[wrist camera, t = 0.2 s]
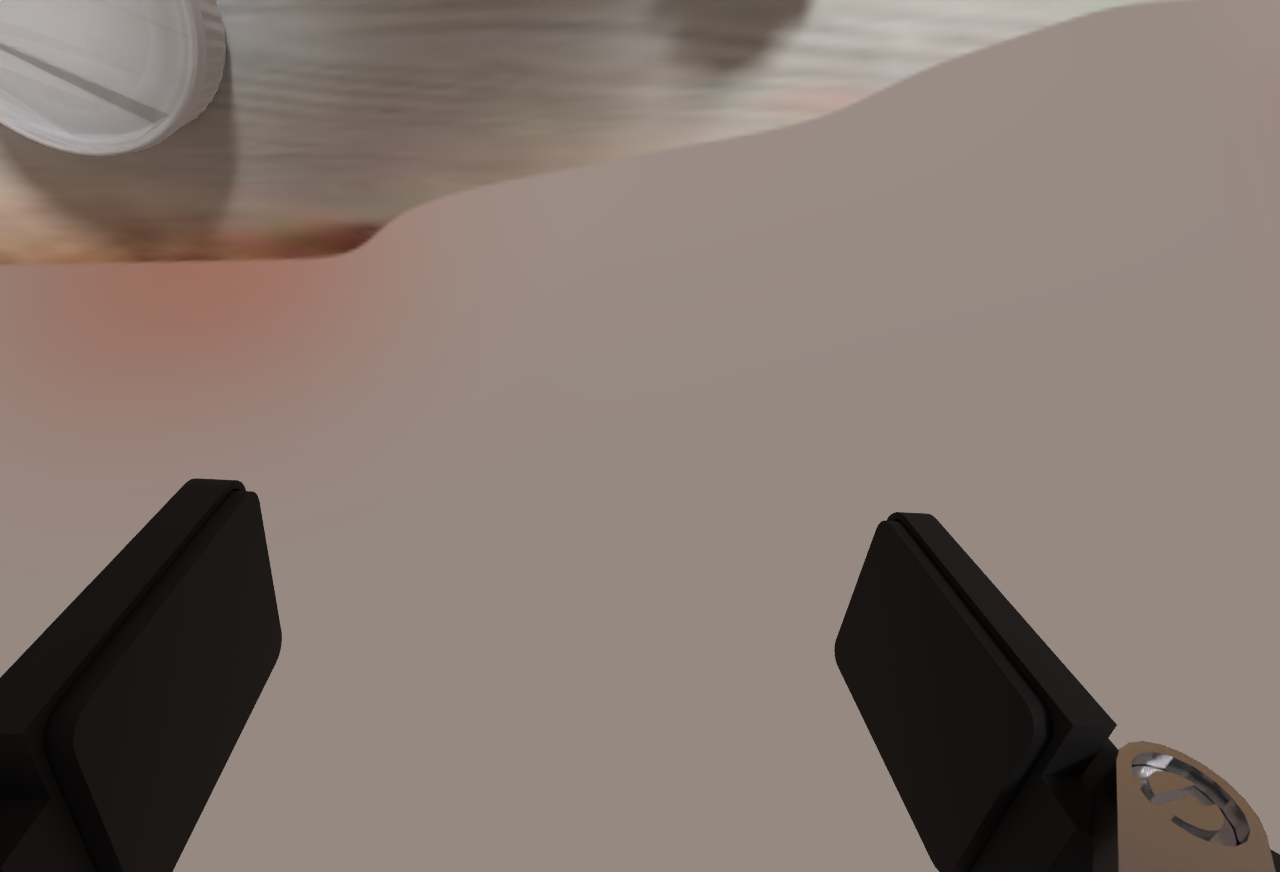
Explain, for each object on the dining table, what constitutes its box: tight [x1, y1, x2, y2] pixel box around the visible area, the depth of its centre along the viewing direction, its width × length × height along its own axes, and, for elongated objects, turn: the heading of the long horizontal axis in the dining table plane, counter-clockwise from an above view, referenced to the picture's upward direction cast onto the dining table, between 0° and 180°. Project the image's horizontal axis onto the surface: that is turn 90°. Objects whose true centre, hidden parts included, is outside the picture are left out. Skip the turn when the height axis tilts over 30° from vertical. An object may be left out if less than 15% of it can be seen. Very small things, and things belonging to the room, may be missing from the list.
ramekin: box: [0, 0, 226, 157], centre depth 28 cm, size 11×11×5 cm
